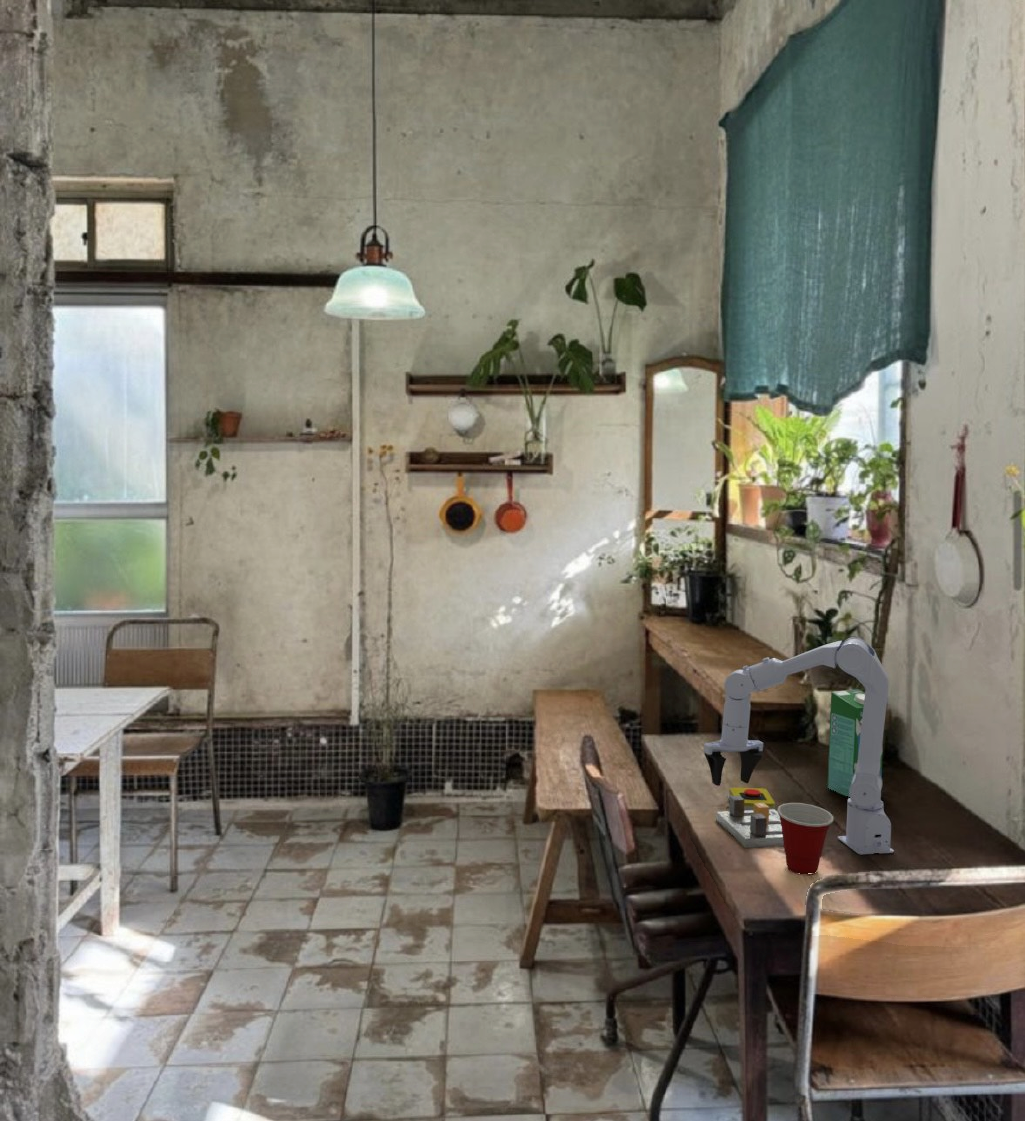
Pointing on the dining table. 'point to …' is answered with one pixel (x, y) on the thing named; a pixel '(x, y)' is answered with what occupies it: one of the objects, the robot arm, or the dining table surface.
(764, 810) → the breaker
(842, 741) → the milk carton
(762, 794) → the emergency button
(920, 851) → the dining table surface
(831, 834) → the dining table surface
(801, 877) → the dining table surface
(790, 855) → the plastic cup
